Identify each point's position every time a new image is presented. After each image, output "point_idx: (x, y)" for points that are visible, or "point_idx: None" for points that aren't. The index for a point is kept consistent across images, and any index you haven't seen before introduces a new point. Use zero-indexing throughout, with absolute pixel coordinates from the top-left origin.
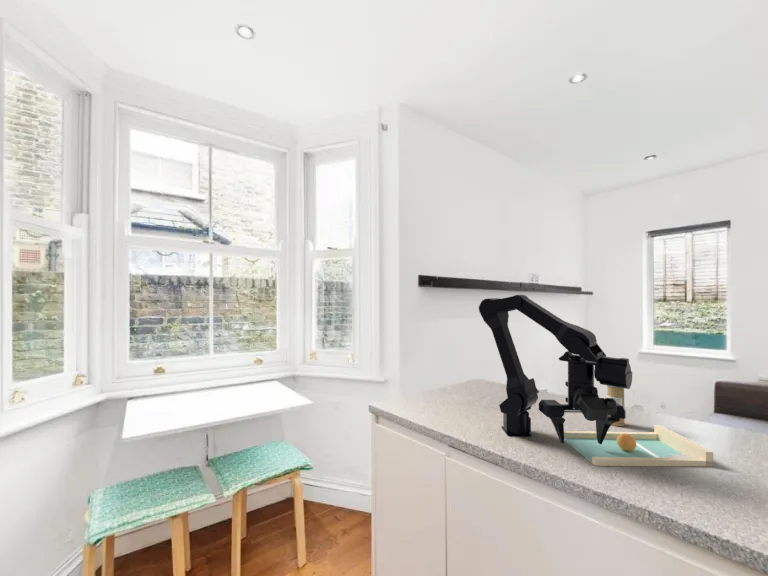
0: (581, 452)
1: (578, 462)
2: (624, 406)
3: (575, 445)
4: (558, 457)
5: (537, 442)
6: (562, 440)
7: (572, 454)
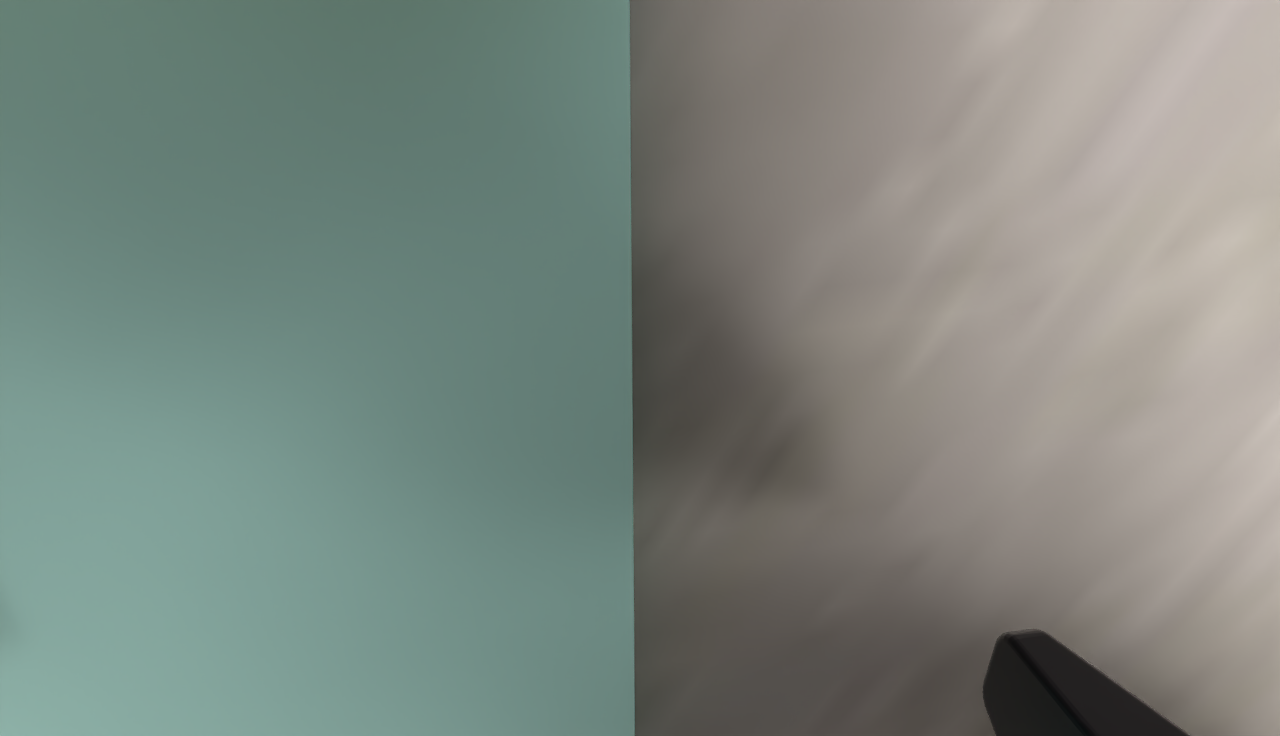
0: (609, 478)
1: (883, 74)
2: None
3: (577, 725)
4: (1164, 276)
5: None
6: (1096, 681)
7: (782, 440)
